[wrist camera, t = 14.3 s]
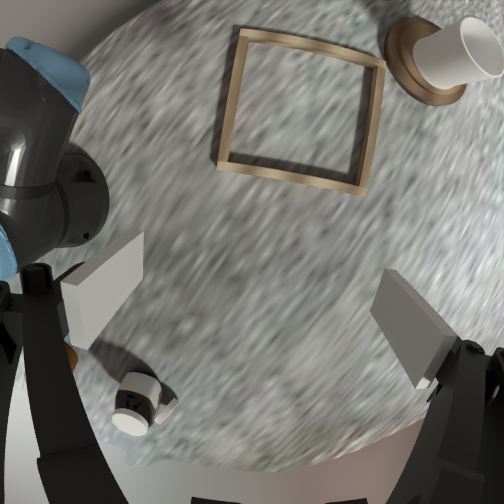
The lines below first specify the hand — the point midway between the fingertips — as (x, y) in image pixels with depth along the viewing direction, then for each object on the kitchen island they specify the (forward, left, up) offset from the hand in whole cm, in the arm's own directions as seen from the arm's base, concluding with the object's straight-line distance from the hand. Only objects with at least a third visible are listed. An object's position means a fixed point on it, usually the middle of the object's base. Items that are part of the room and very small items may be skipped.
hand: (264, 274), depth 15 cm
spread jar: (-15, -41, -27) cm, 51 cm away
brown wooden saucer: (+22, +27, -27) cm, 44 cm away
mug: (+23, +28, -24) cm, 43 cm away
